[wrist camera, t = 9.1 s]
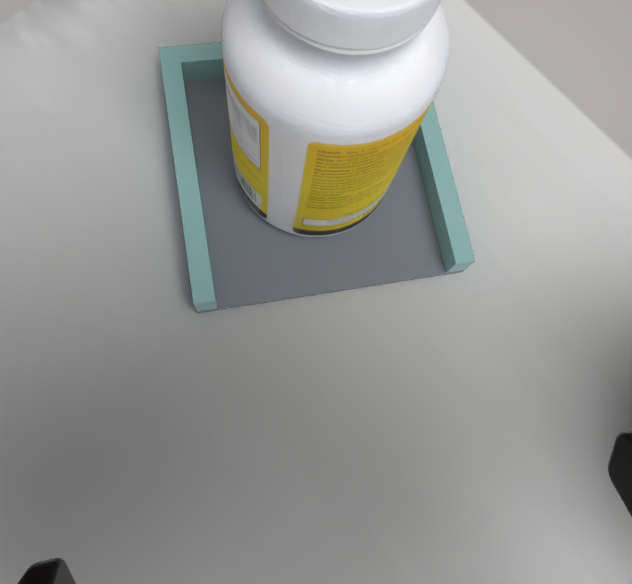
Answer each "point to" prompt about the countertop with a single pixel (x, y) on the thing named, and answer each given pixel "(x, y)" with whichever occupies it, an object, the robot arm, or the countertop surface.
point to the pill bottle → (327, 102)
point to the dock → (283, 247)
